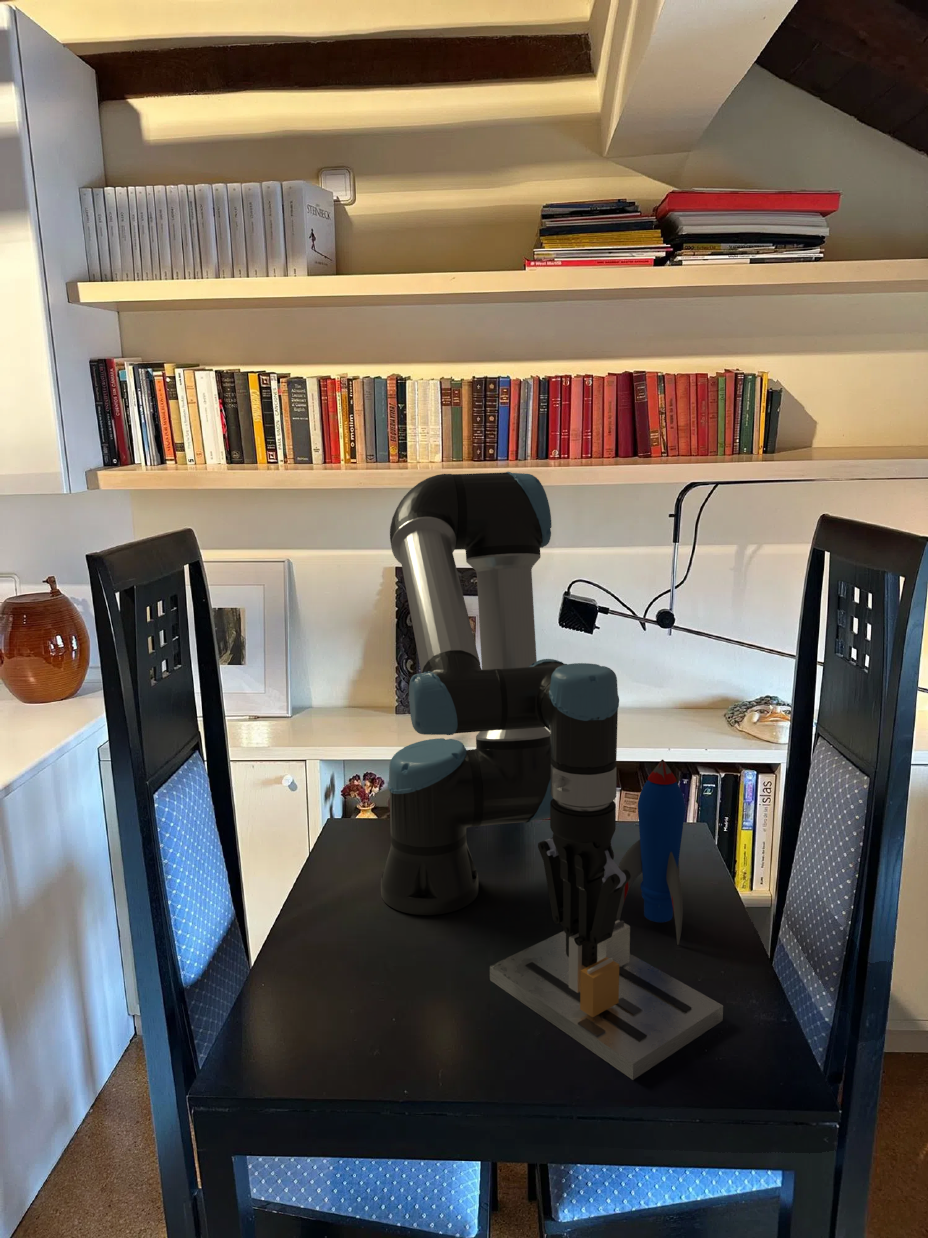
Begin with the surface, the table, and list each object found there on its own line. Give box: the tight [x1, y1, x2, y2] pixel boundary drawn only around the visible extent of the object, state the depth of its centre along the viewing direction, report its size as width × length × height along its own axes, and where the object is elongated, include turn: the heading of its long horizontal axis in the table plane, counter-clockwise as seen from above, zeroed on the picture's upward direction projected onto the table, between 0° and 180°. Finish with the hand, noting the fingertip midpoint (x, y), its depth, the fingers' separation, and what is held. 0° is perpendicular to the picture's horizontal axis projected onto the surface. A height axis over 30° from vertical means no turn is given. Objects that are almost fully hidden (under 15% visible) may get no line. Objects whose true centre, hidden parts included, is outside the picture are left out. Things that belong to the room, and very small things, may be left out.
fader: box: [580, 957, 619, 1017], centre depth 104 cm, size 2×4×5 cm, turn 128°
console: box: [489, 919, 724, 1081], centre depth 109 cm, size 24×16×8 cm, turn 38°
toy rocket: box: [616, 759, 686, 946], centre depth 125 cm, size 11×10×25 cm
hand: (581, 985), depth 106 cm, fingers closed
